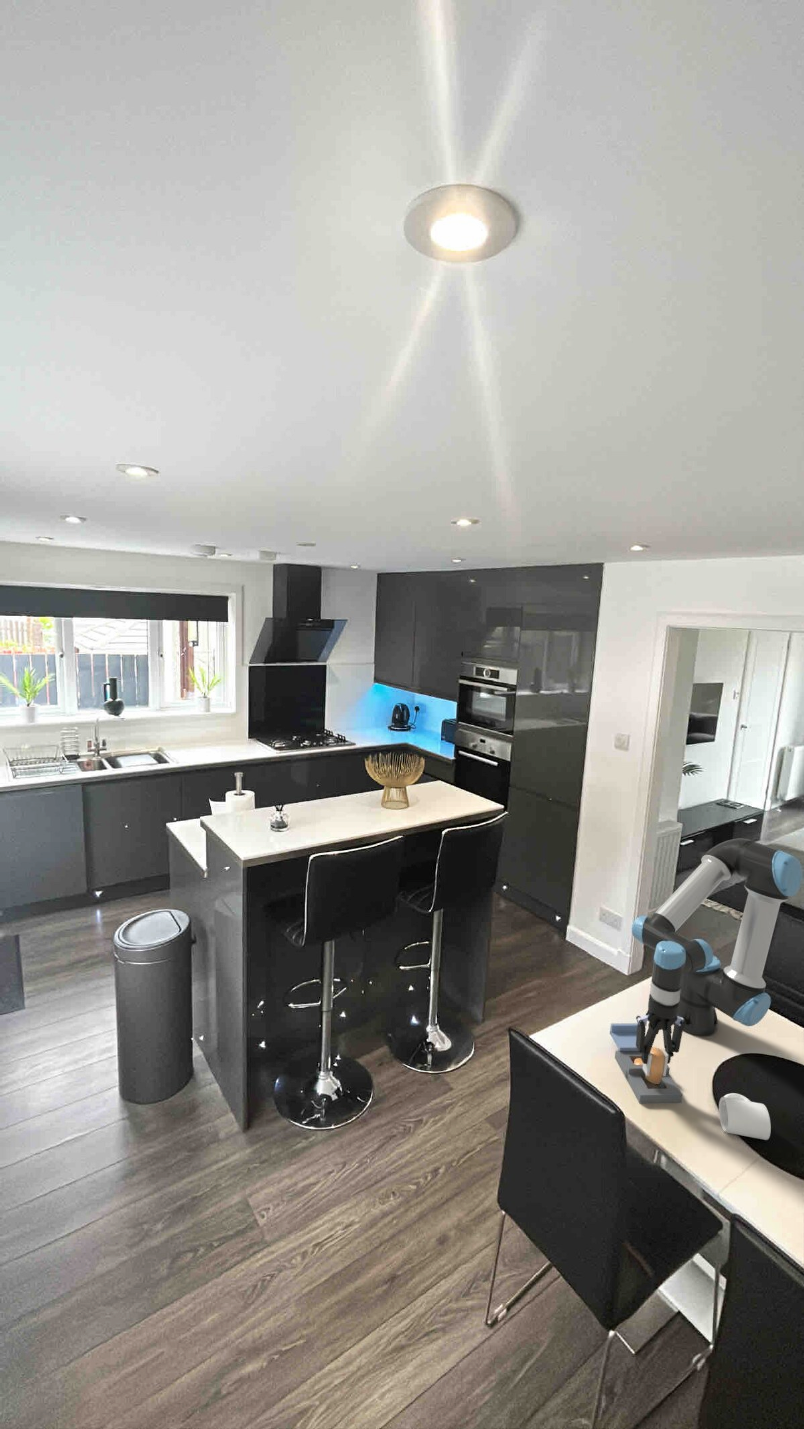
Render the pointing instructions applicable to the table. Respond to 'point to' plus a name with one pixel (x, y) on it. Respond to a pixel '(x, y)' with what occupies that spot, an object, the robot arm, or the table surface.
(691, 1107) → the table surface
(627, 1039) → the lid
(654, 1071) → the pin
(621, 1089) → the table surface
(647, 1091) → the housing
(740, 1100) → the mug
